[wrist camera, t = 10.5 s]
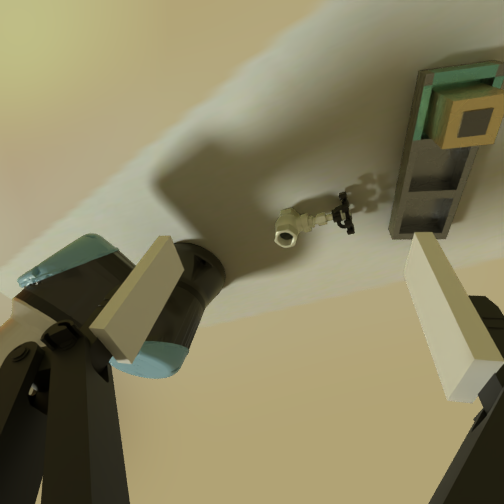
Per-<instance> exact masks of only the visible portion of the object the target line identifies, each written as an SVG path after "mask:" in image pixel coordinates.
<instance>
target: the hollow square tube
mask: <svg viewBox="0 0 504 504" xmlns="http://www.w3.org/2000/svg"><path fill="white" fill-rule="evenodd" d="M503 115H504V90H502V89H499V88H496V87H493V86H490V85H487V84H484V83H481V82H478V81H471V82H465V83H458V84H452V85H446V86H440V87H434V88H432V90H431V95H430V99H429V104H428V108H427V113H426V117H425V122H424V126H423V131H424V132H425V133H426V134H427V135H428V136H429V137H430V138H431V139H432V140H433V141H434V142H435V143H436V144H437V145H438V146H439V147H440V148H441V149H450V148H460V147H469V146H478V145H487V144H494V141H495V138H496V136H497V133H498V130H499V127H500V124H501V121H502V118H503Z"/></svg>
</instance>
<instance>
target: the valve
mask: <svg viewBox="0 0 504 504" xmlns="http://www.w3.org/2000/svg"><path fill="white" fill-rule="evenodd" d="M339 199H340V200H342V205H341V206H338V207H336V208H335V209H334V210H332V213H331V214H327V215H326V214H325V212H323V213H319V214H316V217H313V216H312V215H311V216H309V215H308V213H305V214H302V215H301V217H300V214H299V213H298V212H296V211H295V210H294V209H293V208H288V209H285V210H281V212H280V217H279V218H278V220H277V221H276V224H275V232H276V236H275V242H276V243H277V244H278V245H279V246H281V247H283V248H288V247H292V246H295V244H296V241H297V237H298V234H299V232H301V231H304V232H310V231H312V228H313V227H315V224H318V225H319V226H321V225H325V224H327V221H329V220H333V221H334V222H337V224H338V226H339V227H340V228H347V233H348V235H350V234H354V233H355V231H354V225H353V223H352V215H351V213H350V209H349V202H348V200H347V194H346V192H342V193H339ZM344 219H346V220H344ZM343 220H344V223H345V225H342V224H341V221H343Z"/></svg>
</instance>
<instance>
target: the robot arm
mask: <svg viewBox="0 0 504 504" xmlns="http://www.w3.org/2000/svg"><path fill="white" fill-rule="evenodd" d="M404 277H405V280H406V283H407V285H408V288H409V291H410V294H411V297H412V300H413V303H414V306H415V309H416V312H417V314H418V317H419V320H420V323H421V326H422V329H423V332H424V335H425V337H426V340H427V343H428V346H429V349H430V352H431V355H432V358H433V360H434V363H435V366H436V369H437V372H438V375H439V378H440V381H441V383H442V386H443V389H444V392H445V395H446V398H447V400H448V401H456V402H465V403H473V402H474V400H475V399H476V398H477V396H479V398H480V401H481V403H482V405H483V409H482V410H481V411H480V412H479V413H478V415H477V416H476V417H475V418H474V421H475V422H474V424H473V426H472V428H471V429H470V431H469V433H468V434H467V436H466V438H465V440H464V442H463V443H462V445H461V447H460V449H459V450H458V452H457V454H456V456H455V458H454V459H453V461H452V463H451V465H450V466H449V468H448V470H447V472H446V473H445V476H444V477H443V479H442V481H441V482H440V484H439V486H438V488H437V489H436V491H435V493H434V495H433V496H432V498H431V500H430V502H429V504H504V315H503V314H502V312H501V311H500V309H499V308H498V306H496V305H495V304H494V303H493V302H492V301H490V300H489V299H488V298H487V297H485V296H468V295H467V293H466V291H465V290H464V288H463V286H462V284H461V282H460V281H459V279H458V277H457V276H456V273H455V272H454V270H453V268H452V266H451V265H450V263H449V261H448V259H447V257H446V256H445V254H444V252H443V250H442V248H441V247H440V245H439V243H438V241H437V240H436V238H435V236H434V234H433V232H414V236H413V240H412V243H411V247H410V251H409V255H408V259H407V262H406V266H405V270H404ZM17 282H18V283H19V286H20V287H22V288H23V287H24V289H23V290H22V291H21V292H20V293H19V294H18V295H16V296H15V297H14V298H13V299H12V315H11V318H10V319H9V320H7V321H6V322H5V323H4V324H3V325H2V326H1V327H0V504H35V502H36V498H37V495H38V491H39V488H40V484H41V480H42V477H43V483H42V496H41V504H130V502H129V493H128V487H127V478H126V471H125V464H124V456H123V449H122V442H121V434H120V427H119V419H118V412H117V405H116V397H115V390H114V382H113V375H112V368H111V365H112V366H113V367H115V368H117V369H119V370H121V371H123V372H126V373H128V374H131V375H135V376H139V377H145V378H154V379H156V378H158V379H159V378H167V377H170V376H172V375H174V374H175V373H177V372H178V370H179V369H180V368H181V366H182V364H183V362H184V359H185V357H186V356H187V355H188V353H189V348H190V345H191V343H192V340H193V338H194V335H195V333H196V330H197V328H198V325H199V323H200V320H201V318H202V315H203V312H204V310H205V308H206V307H207V306H208V304H209V303H210V302H211V301H212V300H213V299H214V298H215V297H216V296H217V295H218V294H219V293H220V291H221V289H222V287H223V284H224V282H225V271H224V268H223V266H222V264H221V263H220V261H219V260H218V259H217V258H216V257H215V256H214V255H213V254H212V253H210V252H209V251H207V250H206V249H204V248H202V247H199V246H197V245H193V244H189V243H176V244H174V243H173V241H172V238H171V236H159V237H158V238H157V239H156V241H155V242H154V243H153V245H152V246H151V247H150V248H149V250H148V251H147V252H146V254H145V255H144V256H143V258H142V259H141V260H140V262H139V263H138V264H137V265H135V264H133V263H132V262H131V261H130V260H129V259H128V258H127V257H125V256H124V255H123V254H122V253H121V252H120V251H119V249H118V248H115V247H114V246H113V245H112V244H110V243H109V242H108V241H106V240H105V239H104V238H103V237H101V236H100V235H98V234H93V233H90V234H86V235H83V236H82V237H80V238H78V239H77V240H75V241H74V242H72V243H70V244H69V245H67V246H66V247H64V248H63V249H61V250H60V251H58V252H57V253H55V254H54V255H52V256H51V257H49V258H47V259H46V260H44V261H43V262H41V263H40V264H39V265H37V266H35V267H34V268H33V269H31V270H30V271H28V272H26V273H25V274H23V275H22V276H20V277H19V278H18V280H17Z"/></svg>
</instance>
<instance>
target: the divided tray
mask: <svg viewBox="0 0 504 504" xmlns="http://www.w3.org/2000/svg"><path fill="white" fill-rule="evenodd" d="M503 80H504V62H501V61H495V60H493V61H486V62H479V63H471V64H464V65H457V66H450V67H443V68H436V69H429V70H422V71H418V77H417V82H416V87H415V92H414V97H413V103H412V108H411V113H410V118H409V124H408V129H407V134H406V139H405V144H404V150H403V155H402V160H401V165H400V171H399V176H398V181H397V186H396V191H395V197H394V202H393V207H392V212H391V218H390V223H389V228H388V229H389V232H390V235H391V238H392V240H393V239H413V236H414V232H433V234H434V236H435V238H436V239H446V237H447V234H448V232H449V229H450V226H451V223H452V220H453V218H454V215H455V212H456V209H457V206H458V204H459V201H460V198H461V195H462V192H463V190H464V187H465V184H466V181H467V178H468V176H469V173H470V170H471V167H472V164H473V162H474V159H475V156H476V153H477V150H478V148H479V145H478V146H469V147H460V148H450V149H441V148H440V147H439V146H438V145H437V144H436V143H435V142H434V141H433V140H432V139H431V138H430V137H429V136H428V135H427V134H426V133H425V132H424V131H423V126H424V122H425V117H426V113H427V108H428V104H429V99H430V95H431V90H432V88H434V87H440V86H446V85H452V84H458V83H465V82H471V81H478V82H481V83H484V84H487V85H490V86H493V87H496V88H499V89H500V88H501V85H502V83H503Z"/></svg>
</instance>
